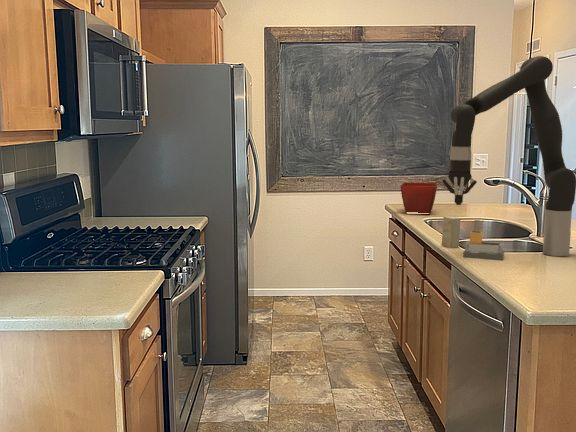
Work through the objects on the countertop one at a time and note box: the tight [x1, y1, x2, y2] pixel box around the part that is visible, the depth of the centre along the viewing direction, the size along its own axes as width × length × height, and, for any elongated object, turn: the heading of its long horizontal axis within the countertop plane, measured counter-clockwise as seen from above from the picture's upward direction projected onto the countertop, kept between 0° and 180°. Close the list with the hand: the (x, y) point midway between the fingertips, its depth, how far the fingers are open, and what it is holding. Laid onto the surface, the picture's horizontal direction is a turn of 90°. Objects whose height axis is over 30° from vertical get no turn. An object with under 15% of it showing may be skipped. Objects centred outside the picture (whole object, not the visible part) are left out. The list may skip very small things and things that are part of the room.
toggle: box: [469, 229, 484, 244], centre depth 228 cm, size 4×4×7 cm
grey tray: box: [462, 240, 505, 261], centre depth 227 cm, size 14×9×5 cm, turn 67°
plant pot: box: [400, 182, 438, 214], centre depth 341 cm, size 19×19×17 cm
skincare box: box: [441, 215, 461, 249], centre depth 246 cm, size 6×4×12 cm
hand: (458, 204), depth 229 cm, fingers closed
